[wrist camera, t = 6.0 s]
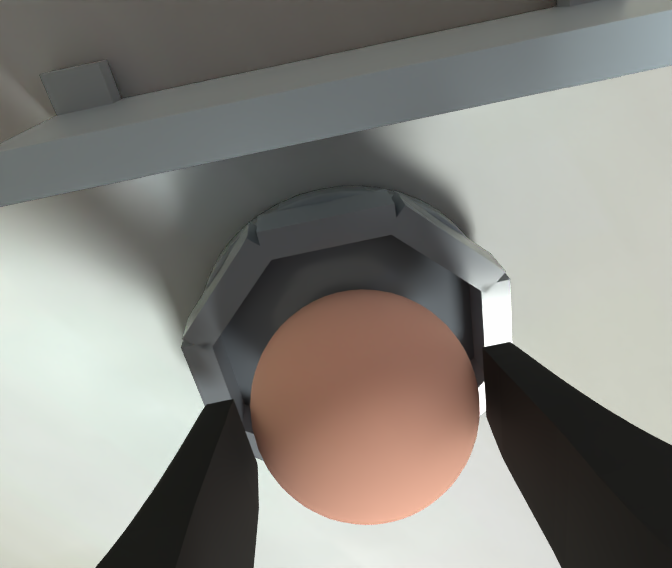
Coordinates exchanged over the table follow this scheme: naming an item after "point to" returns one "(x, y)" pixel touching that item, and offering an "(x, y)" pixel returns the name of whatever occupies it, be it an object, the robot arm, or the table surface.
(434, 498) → the ball
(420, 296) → the slate dish
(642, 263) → the table surface
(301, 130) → the divider wall
